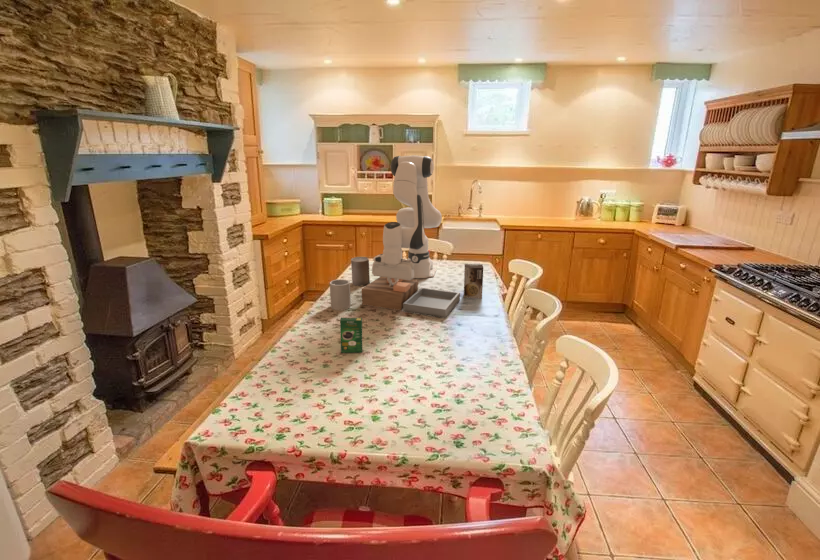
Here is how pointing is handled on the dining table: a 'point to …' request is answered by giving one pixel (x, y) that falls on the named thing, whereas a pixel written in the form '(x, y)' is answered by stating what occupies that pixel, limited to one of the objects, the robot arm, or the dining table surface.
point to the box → (431, 302)
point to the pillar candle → (360, 271)
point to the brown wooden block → (387, 294)
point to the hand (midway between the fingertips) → (393, 286)
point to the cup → (340, 294)
